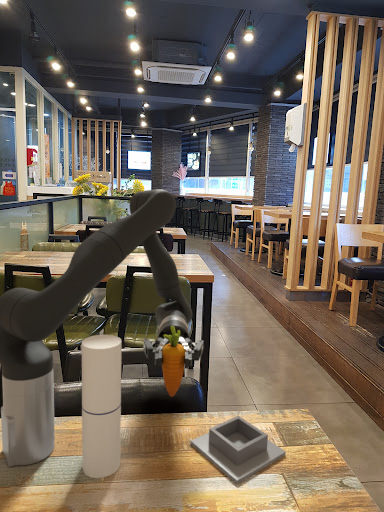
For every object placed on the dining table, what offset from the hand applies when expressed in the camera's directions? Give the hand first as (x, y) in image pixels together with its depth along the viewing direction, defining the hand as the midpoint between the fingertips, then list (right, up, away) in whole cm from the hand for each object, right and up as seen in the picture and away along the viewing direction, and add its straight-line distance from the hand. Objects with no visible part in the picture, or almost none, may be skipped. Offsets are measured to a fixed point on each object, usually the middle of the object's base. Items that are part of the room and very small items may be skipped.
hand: (173, 363), depth 74 cm
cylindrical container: (-14, -19, -2) cm, 24 cm away
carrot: (-1, -8, +4) cm, 9 cm away
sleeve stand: (+13, -19, +4) cm, 24 cm away
